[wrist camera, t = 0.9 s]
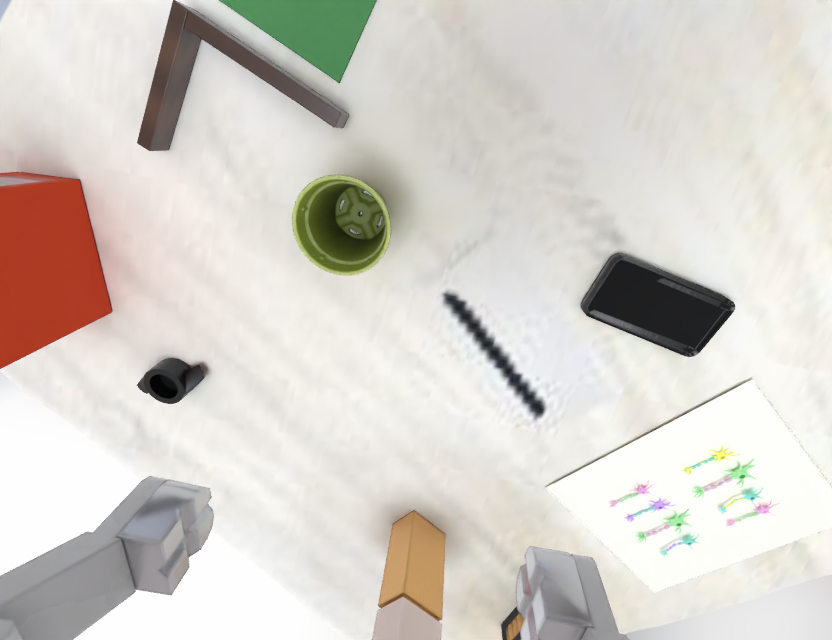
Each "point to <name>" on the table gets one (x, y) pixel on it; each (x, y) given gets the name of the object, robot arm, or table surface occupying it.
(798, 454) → the printed paper
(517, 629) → the ammunition clip
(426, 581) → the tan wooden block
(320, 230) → the plant pot
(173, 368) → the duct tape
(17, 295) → the file binder
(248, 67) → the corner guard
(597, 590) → the robot arm
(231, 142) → the table surface
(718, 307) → the phone
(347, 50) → the green cloth
